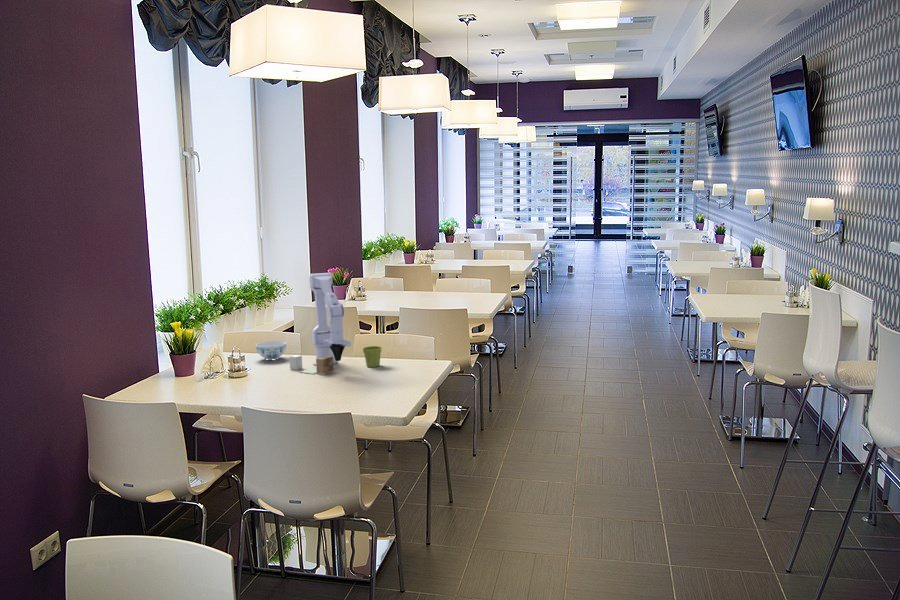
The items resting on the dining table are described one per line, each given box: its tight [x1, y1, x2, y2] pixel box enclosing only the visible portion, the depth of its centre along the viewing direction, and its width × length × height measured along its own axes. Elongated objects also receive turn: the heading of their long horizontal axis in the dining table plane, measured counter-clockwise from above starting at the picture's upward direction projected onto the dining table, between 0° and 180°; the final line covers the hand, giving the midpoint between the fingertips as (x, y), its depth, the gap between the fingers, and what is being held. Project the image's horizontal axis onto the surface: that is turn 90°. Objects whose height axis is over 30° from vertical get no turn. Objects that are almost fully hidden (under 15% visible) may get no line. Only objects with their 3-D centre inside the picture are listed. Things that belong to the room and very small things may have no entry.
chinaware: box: [255, 340, 287, 360], centre depth 391 cm, size 15×15×8 cm
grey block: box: [289, 354, 303, 370], centre depth 369 cm, size 4×4×6 cm
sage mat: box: [300, 366, 317, 375], centre depth 364 cm, size 11×8×1 cm
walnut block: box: [315, 356, 335, 375], centre depth 360 cm, size 7×4×7 cm, turn 148°
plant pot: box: [361, 345, 383, 368], centre depth 370 cm, size 9×9×9 cm
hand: (338, 360), depth 355 cm, fingers closed
